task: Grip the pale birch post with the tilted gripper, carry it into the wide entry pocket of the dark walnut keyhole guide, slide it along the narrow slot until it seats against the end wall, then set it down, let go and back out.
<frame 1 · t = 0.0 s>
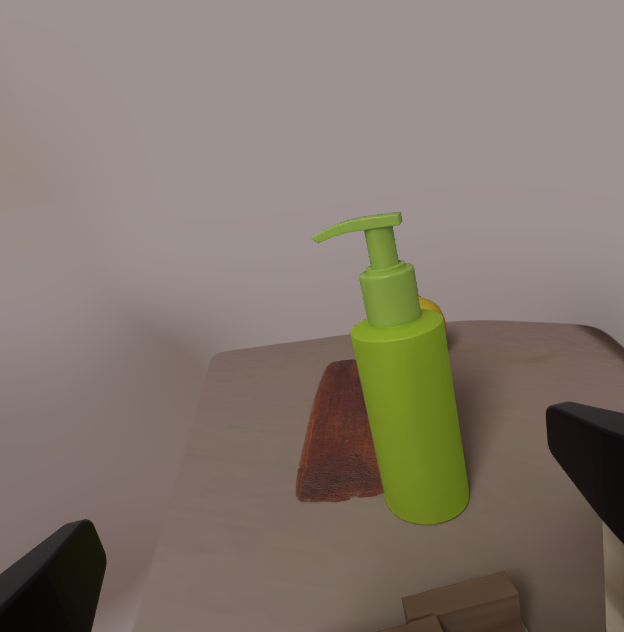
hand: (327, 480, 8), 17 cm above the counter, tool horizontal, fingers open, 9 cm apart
soap dispenser: (419, 496, 31), on the counter
lemon: (427, 359, 53), on the counter
wooden tablet: (356, 418, 44), on the counter
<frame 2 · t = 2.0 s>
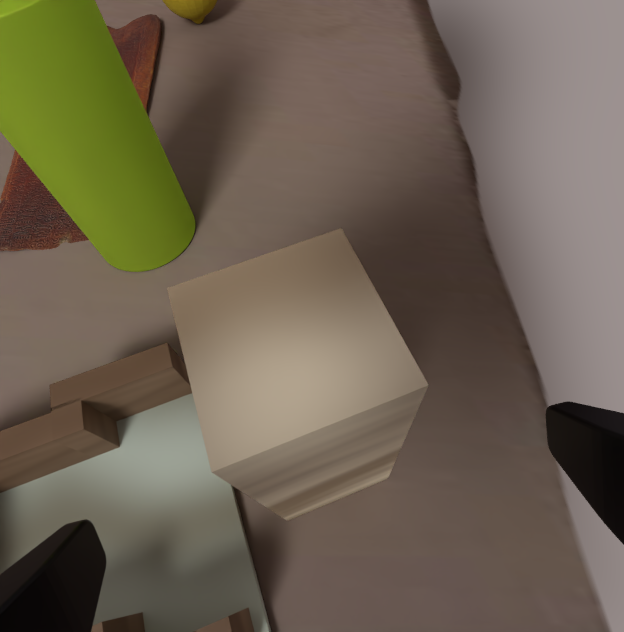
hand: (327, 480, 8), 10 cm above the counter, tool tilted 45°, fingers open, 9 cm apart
soap dispenser: (141, 235, 26), on the counter
keyhole guide: (106, 534, 18), on the counter
birch post: (318, 448, 19), on the counter
lemon: (200, 25, 39), on the counter
wooden tablet: (91, 123, 33), on the counter
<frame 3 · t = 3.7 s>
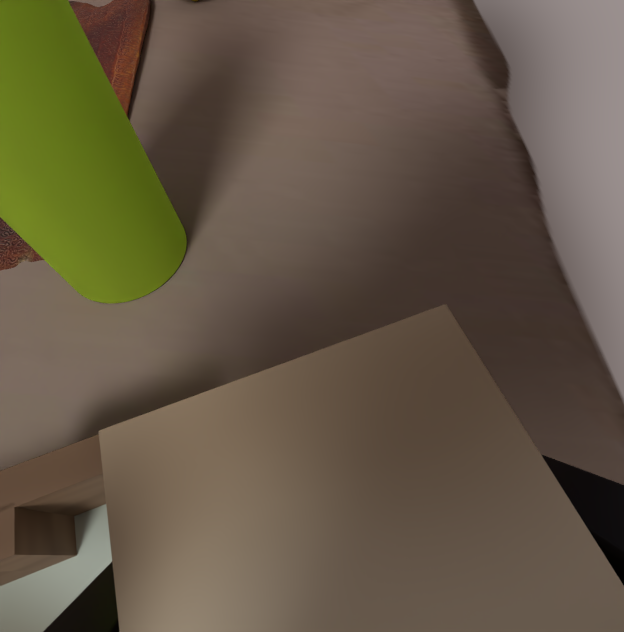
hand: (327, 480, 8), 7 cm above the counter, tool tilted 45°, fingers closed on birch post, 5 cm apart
soap dispenser: (119, 255, 21), on the counter
birch post: (348, 561, 14), on the counter, touching gripper
lemon: (197, 3, 33), on the counter
wooden tablet: (66, 115, 28), on the counter
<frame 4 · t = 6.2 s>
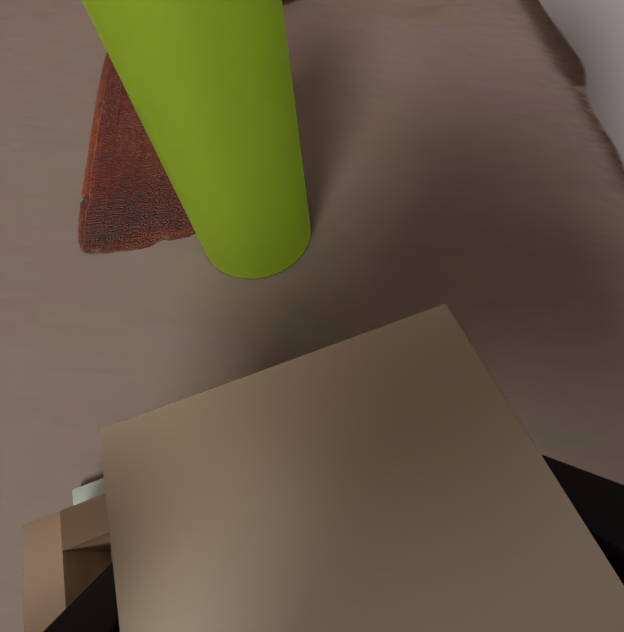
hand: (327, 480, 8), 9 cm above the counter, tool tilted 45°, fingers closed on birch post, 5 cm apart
soap dispenser: (248, 237, 23), on the counter
keyhole guide: (266, 594, 15), on the counter
birch post: (348, 561, 14), point 2 cm above the counter, touching gripper
wooden tablet: (166, 111, 31), on the counter
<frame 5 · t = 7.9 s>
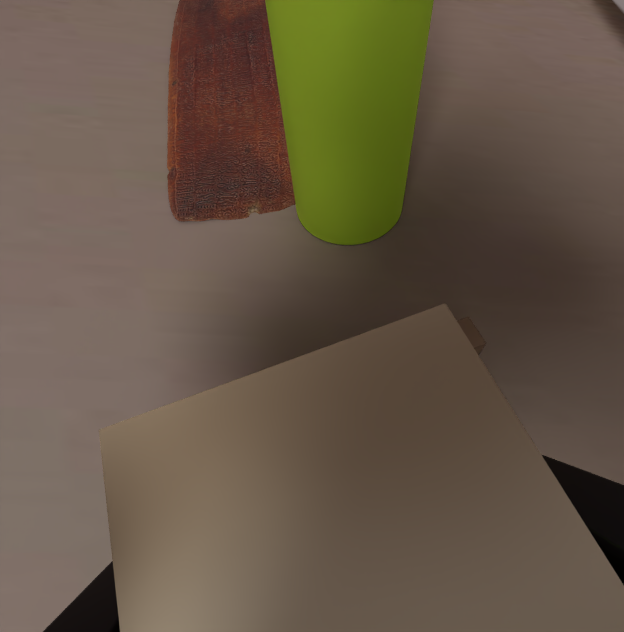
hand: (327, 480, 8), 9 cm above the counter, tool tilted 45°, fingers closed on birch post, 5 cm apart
soap dispenser: (339, 206, 24), on the counter
keyhole guide: (406, 533, 16), on the counter
birch post: (349, 560, 14), point 2 cm above the counter, touching gripper
wooden tablet: (237, 90, 31), on the counter
when the fingers open (8 cm above the counter, at t = 9.1 s): birch post stays where it is, resting on keyhole guide.
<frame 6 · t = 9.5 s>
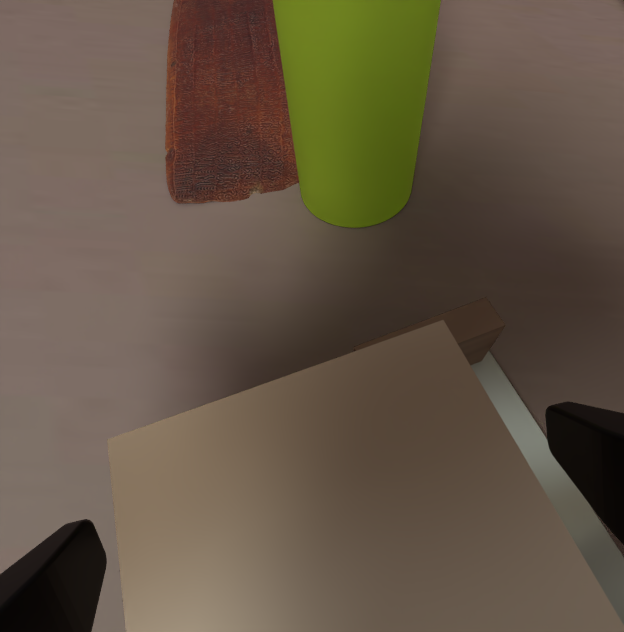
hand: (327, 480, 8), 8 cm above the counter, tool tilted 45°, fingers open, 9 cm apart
soap dispenser: (345, 189, 23), on the counter
keyhole guide: (419, 529, 15), on the counter
birch post: (350, 562, 14), resting on keyhole guide
wooden tablet: (238, 72, 30), on the counter
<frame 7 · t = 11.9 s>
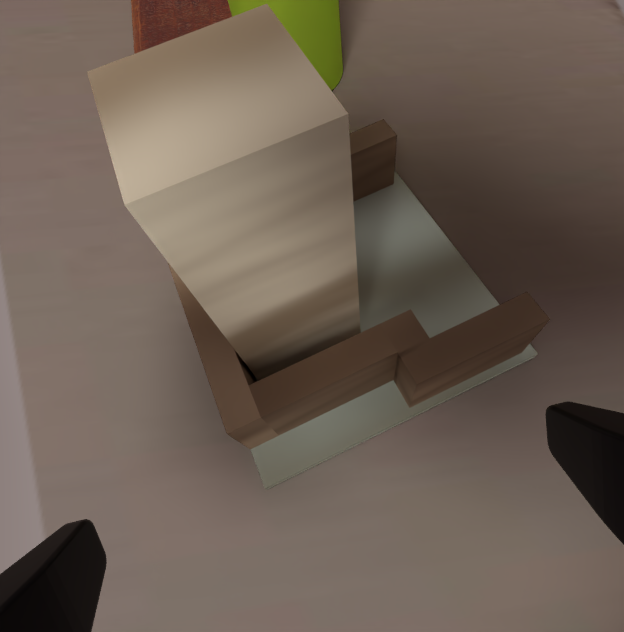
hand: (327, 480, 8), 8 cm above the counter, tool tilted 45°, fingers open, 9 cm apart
soap dispenser: (288, 79, 27), on the counter
keyhole guide: (344, 298, 19), on the counter
birch post: (292, 319, 19), resting on keyhole guide
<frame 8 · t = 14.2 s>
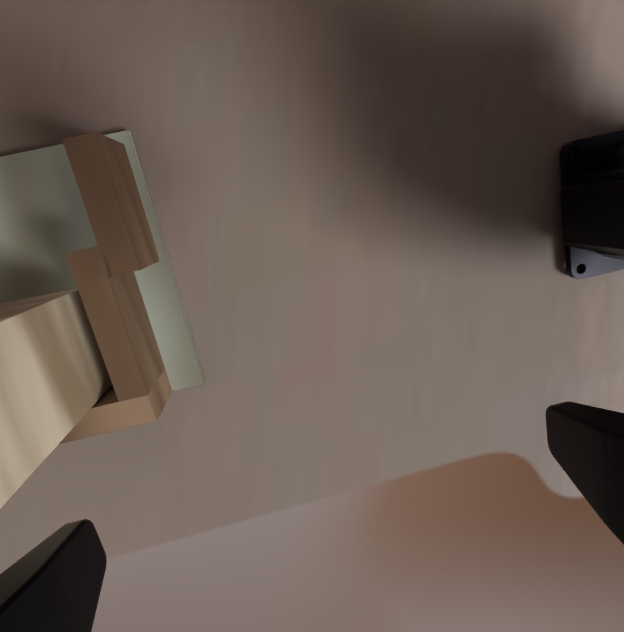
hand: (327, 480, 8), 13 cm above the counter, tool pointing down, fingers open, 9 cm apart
keyhole guide: (38, 287, 19), on the counter
birch post: (56, 342, 20), resting on keyhole guide
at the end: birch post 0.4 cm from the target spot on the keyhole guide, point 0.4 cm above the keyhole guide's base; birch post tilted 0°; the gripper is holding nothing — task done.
